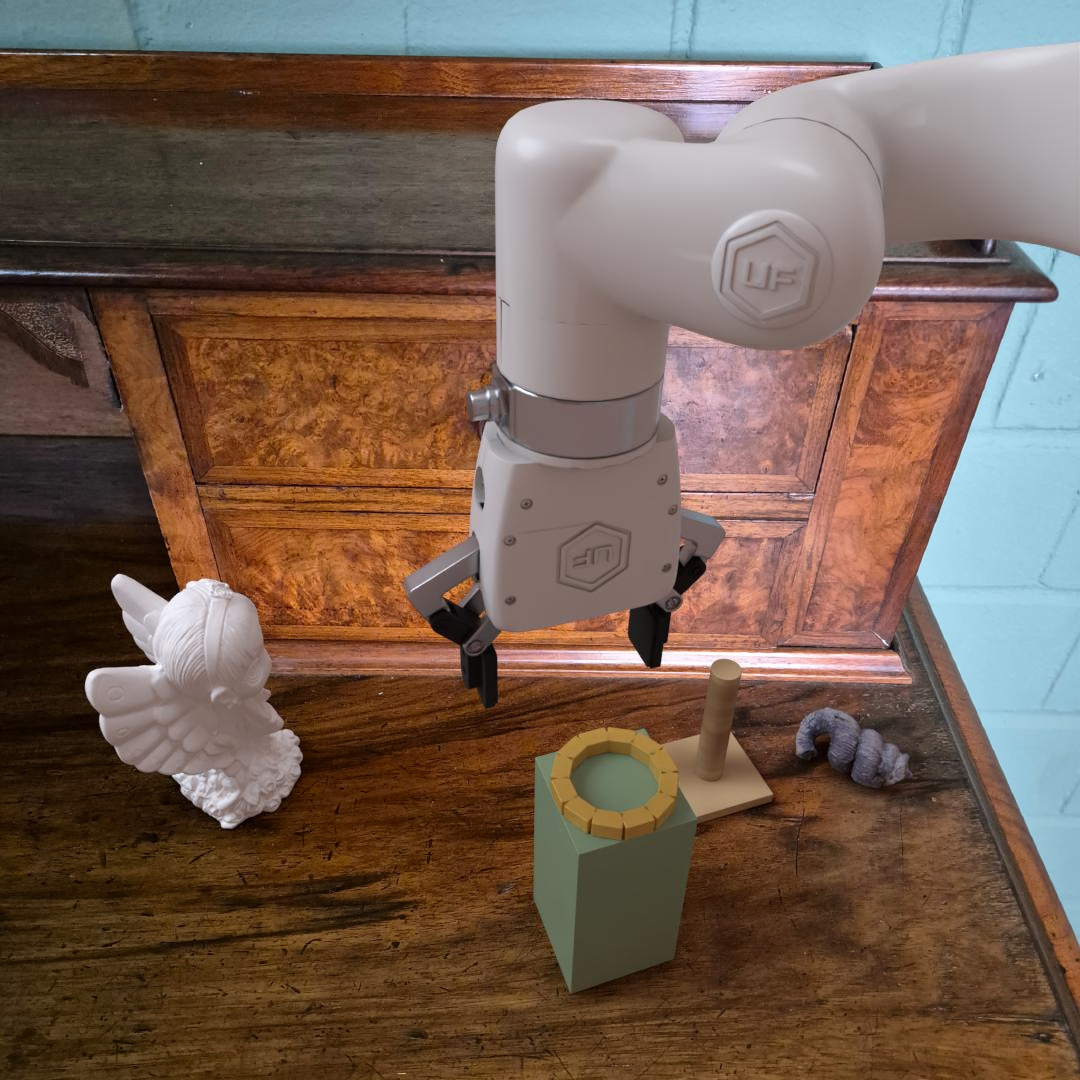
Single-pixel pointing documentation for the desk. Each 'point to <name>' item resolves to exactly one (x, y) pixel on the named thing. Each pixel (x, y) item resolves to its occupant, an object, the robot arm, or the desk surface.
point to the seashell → (853, 748)
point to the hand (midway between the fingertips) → (565, 670)
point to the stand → (609, 873)
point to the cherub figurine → (198, 700)
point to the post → (718, 754)
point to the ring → (604, 820)
